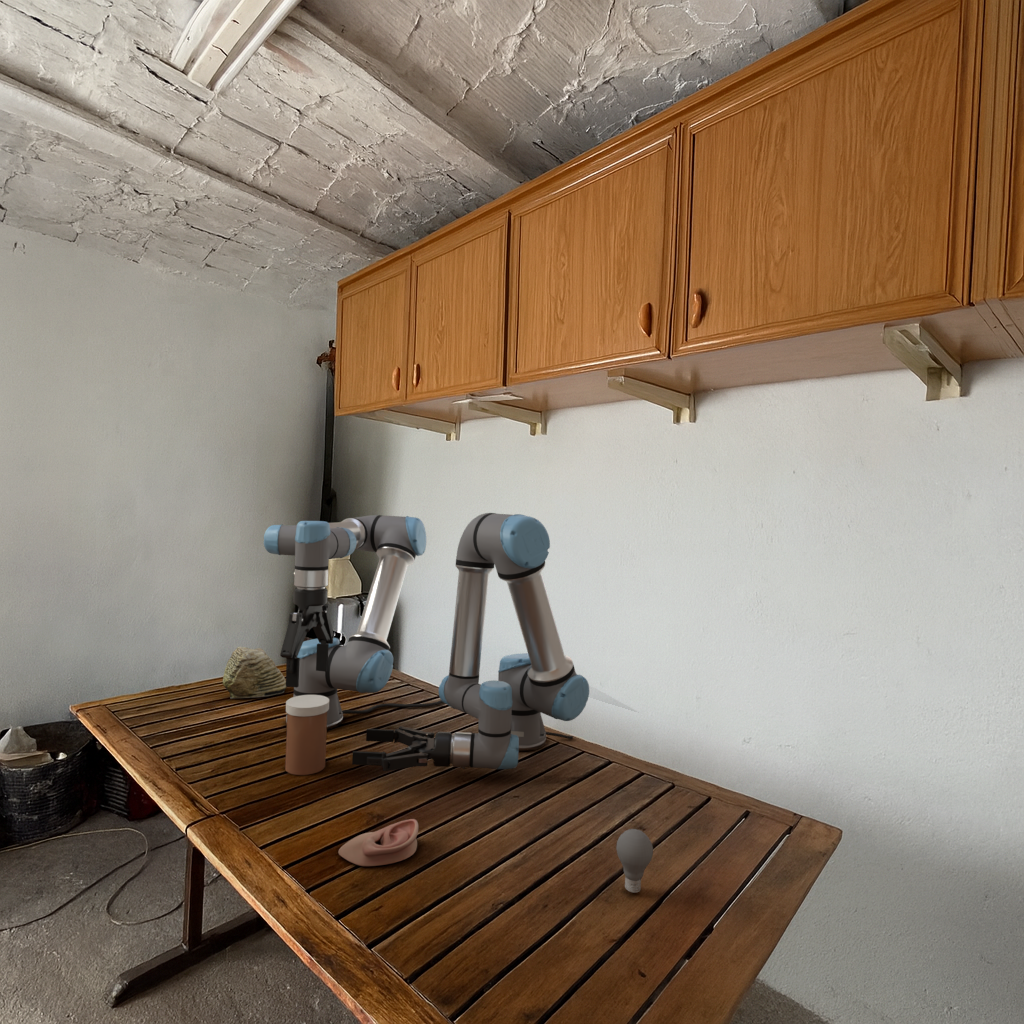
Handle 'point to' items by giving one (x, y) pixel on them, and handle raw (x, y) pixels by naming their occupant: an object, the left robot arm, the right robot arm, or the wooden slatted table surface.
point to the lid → (307, 705)
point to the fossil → (252, 674)
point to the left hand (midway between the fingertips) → (307, 678)
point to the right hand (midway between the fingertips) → (359, 745)
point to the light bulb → (634, 857)
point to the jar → (306, 744)
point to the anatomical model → (382, 845)
